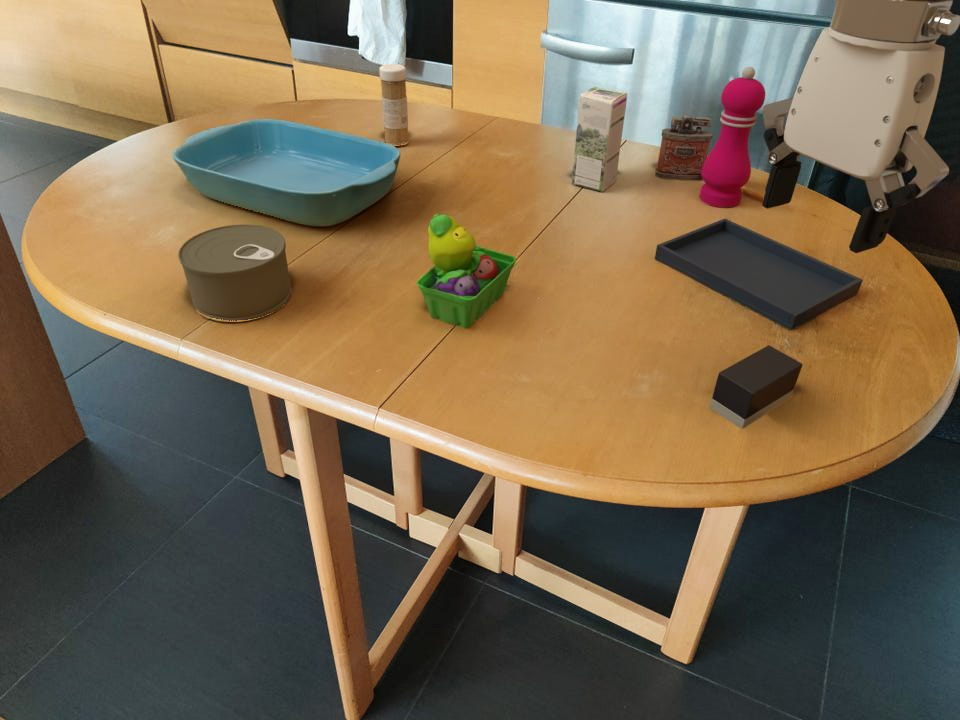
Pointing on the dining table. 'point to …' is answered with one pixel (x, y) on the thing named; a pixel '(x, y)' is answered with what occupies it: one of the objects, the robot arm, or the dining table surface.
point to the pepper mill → (732, 142)
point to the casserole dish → (289, 169)
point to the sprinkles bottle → (394, 103)
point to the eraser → (755, 386)
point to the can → (236, 271)
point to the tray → (759, 272)
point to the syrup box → (598, 138)
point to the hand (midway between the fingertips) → (817, 225)
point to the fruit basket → (461, 274)
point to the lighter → (684, 149)
